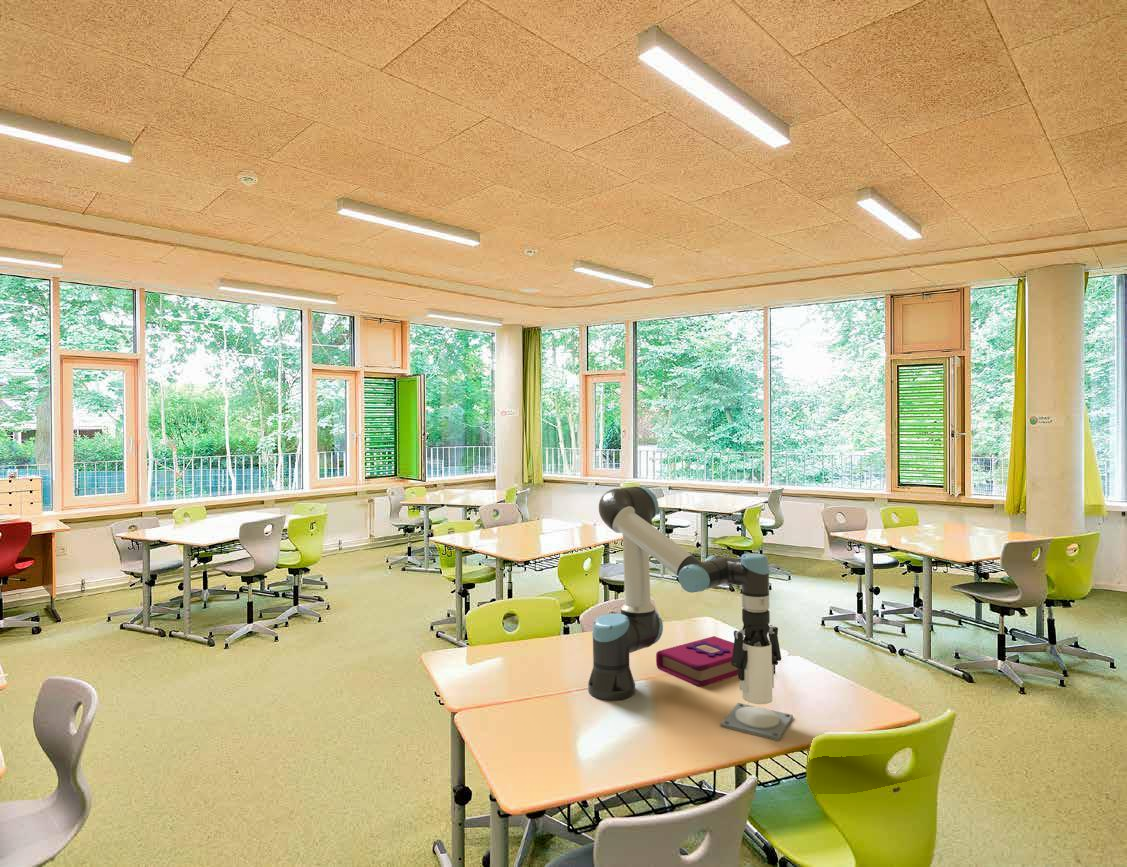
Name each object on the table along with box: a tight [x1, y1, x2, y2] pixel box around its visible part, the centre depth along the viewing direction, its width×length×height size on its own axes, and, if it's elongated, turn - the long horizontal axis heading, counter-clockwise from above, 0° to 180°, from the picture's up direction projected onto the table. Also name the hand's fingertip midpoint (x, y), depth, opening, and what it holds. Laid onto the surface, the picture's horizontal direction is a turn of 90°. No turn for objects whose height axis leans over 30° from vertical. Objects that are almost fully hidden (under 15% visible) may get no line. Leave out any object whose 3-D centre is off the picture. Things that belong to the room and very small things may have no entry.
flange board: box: [720, 702, 794, 741], centre depth 179 cm, size 16×16×2 cm
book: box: [655, 635, 738, 688], centre depth 220 cm, size 21×28×8 cm
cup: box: [741, 639, 773, 705], centre depth 179 cm, size 8×8×16 cm
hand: (756, 688), depth 179 cm, fingers closed on cup, 8 cm apart
